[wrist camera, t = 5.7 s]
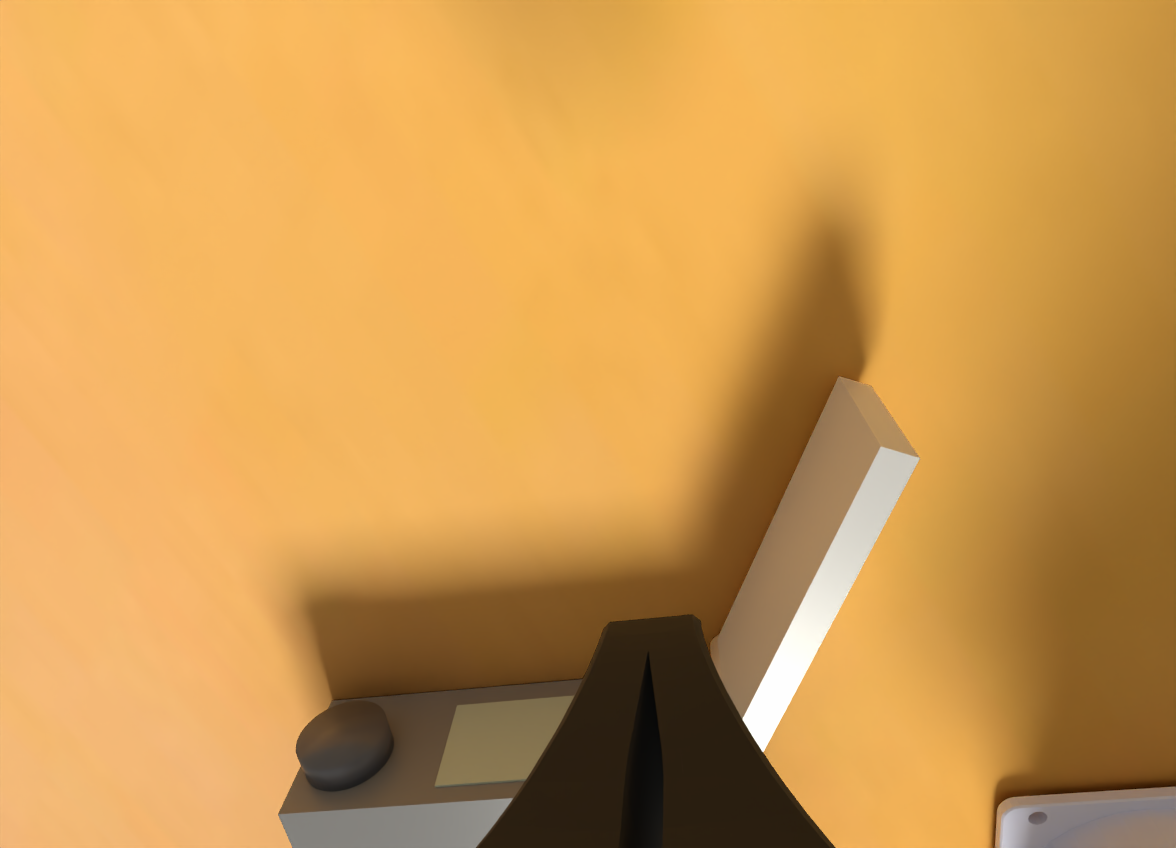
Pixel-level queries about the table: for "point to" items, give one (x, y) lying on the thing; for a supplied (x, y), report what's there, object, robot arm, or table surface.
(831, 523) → the side door
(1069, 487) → the table surface
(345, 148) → the table surface
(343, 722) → the camera body
